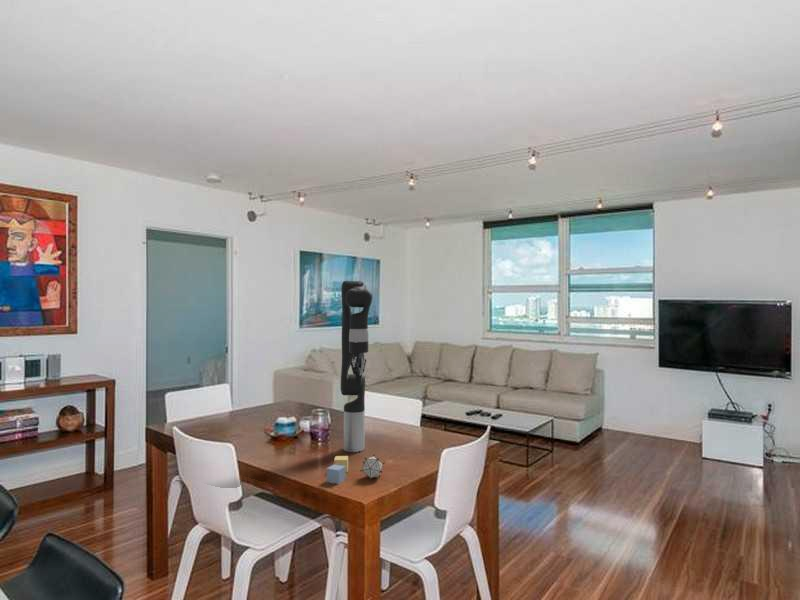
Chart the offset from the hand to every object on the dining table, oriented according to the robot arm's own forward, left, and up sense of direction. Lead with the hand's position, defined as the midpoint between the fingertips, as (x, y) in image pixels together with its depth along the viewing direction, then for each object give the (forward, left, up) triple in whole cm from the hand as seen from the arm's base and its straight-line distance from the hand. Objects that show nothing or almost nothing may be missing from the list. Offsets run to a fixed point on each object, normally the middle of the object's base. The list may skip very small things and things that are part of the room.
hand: (358, 384), depth 193 cm
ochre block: (+3, -6, -33) cm, 34 cm away
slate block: (+14, -4, -33) cm, 36 cm away
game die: (+8, +8, -33) cm, 35 cm away
